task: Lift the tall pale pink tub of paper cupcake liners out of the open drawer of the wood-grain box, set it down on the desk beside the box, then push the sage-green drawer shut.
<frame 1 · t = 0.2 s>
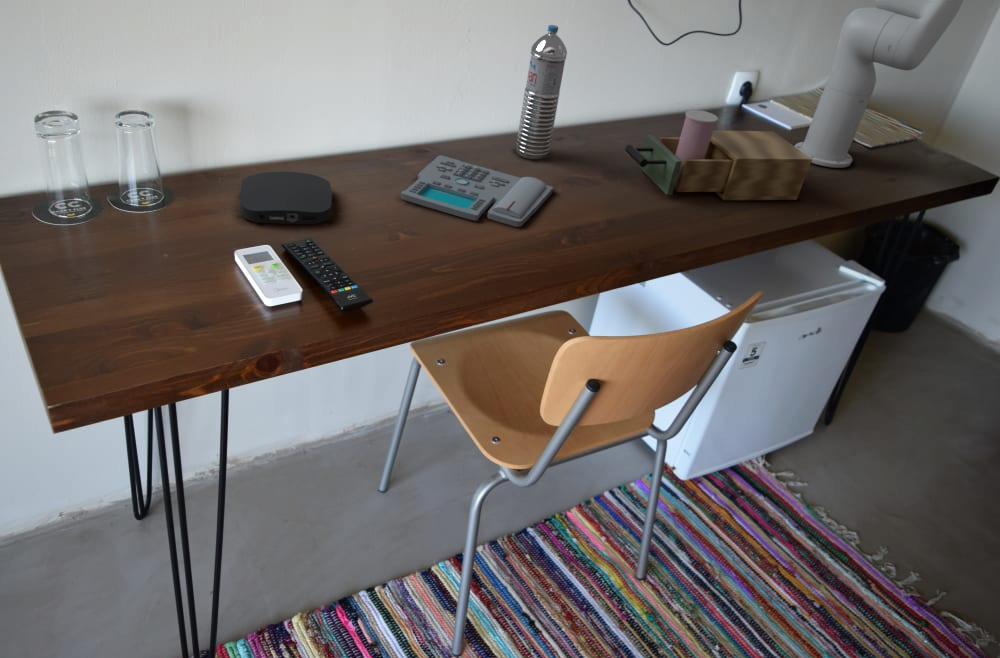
media streaming box: (286, 206, 135), on the table
drawer: (679, 164, 157), point 4 cm above the table, slide at 11.0 cm, touching liners
liners: (684, 175, 159), point 2 cm above the table, touching drawer
water bottle: (531, 155, 165), on the table
wood-grain box: (742, 184, 164), on the table
office telephone: (476, 196, 146), on the table
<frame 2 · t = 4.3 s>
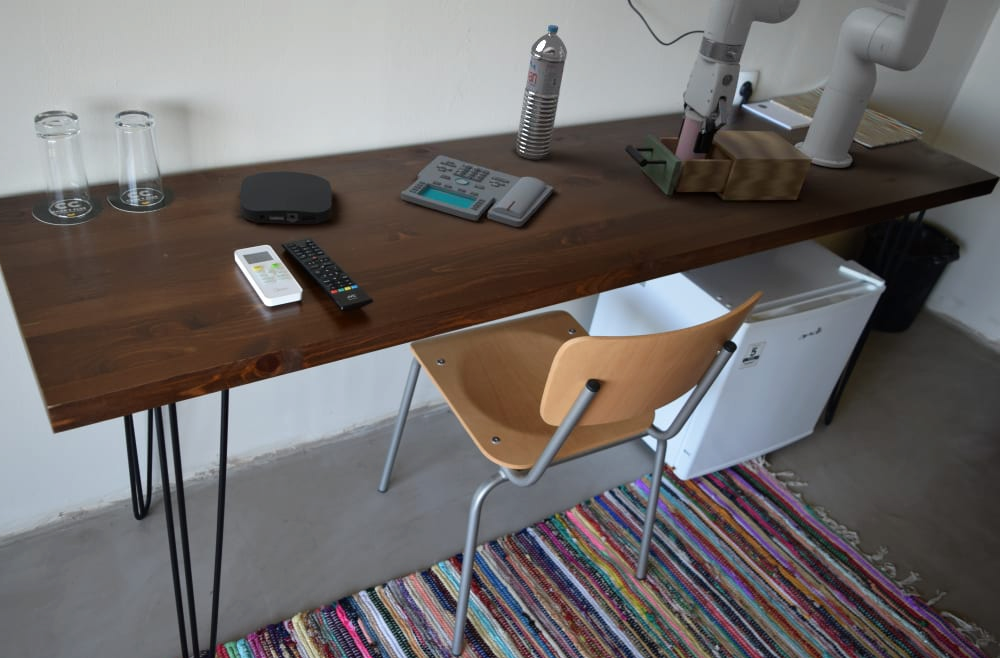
hand: (693, 145, 155), 8 cm above the table, tool pointing down, fingers closed on liners, 5 cm apart
liners: (684, 175, 159), point 2 cm above the table, touching drawer, gripper
everything else where it was.
when the fingers open (6 cm above the table, at t = 12.1 s): liners stays where it is, on the table.
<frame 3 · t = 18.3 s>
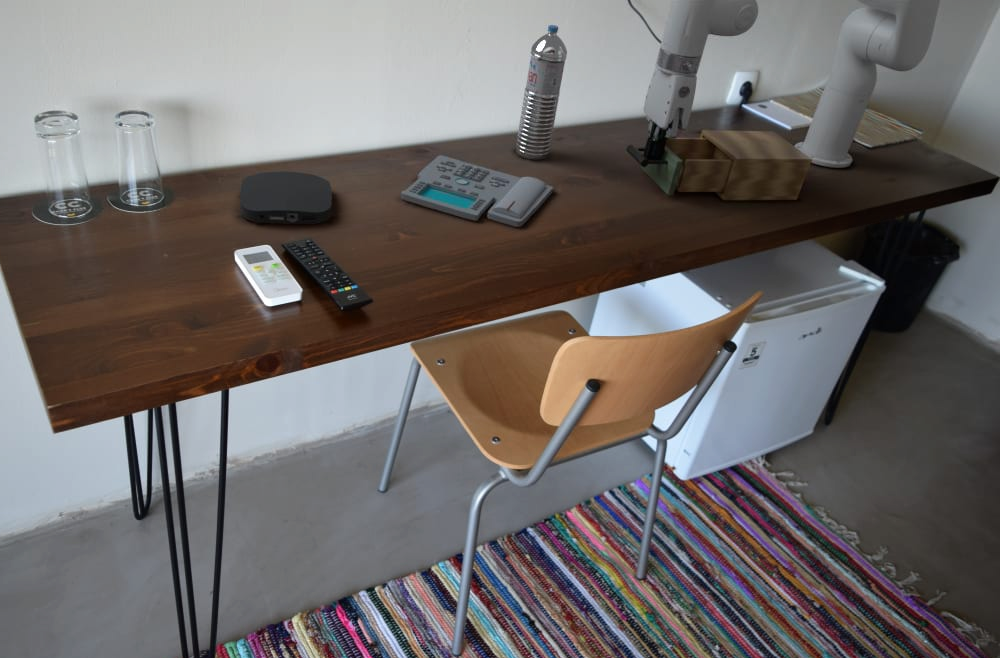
hand: (652, 158, 155), 5 cm above the table, tool pointing down, fingers closed
drawer: (680, 164, 157), point 4 cm above the table, slide at 10.7 cm
liners: (660, 154, 172), on the table
everything else where it was.
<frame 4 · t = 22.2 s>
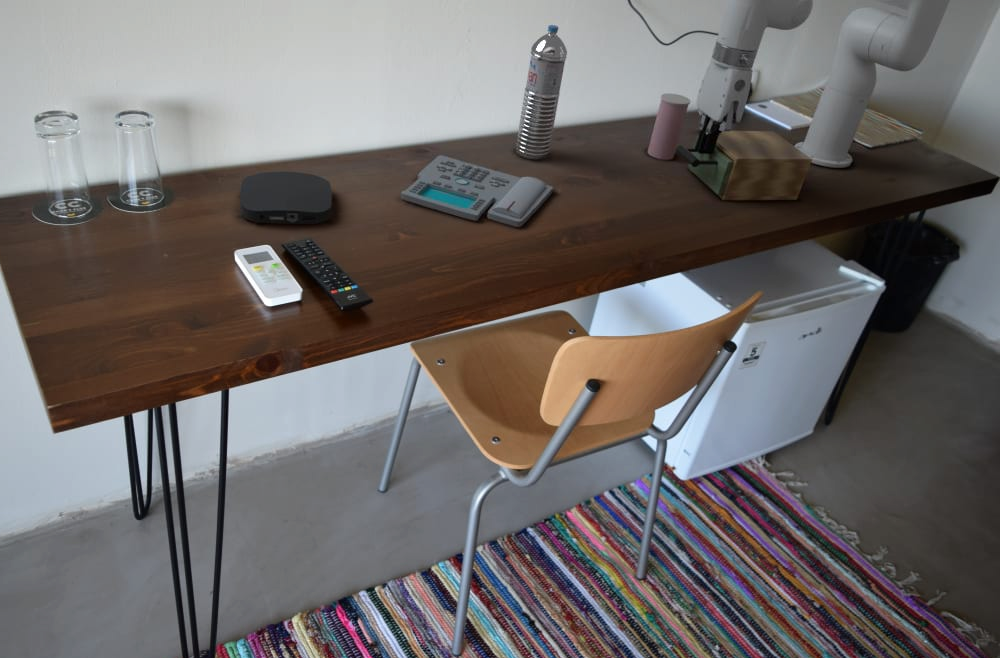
hand: (703, 151, 157), 7 cm above the table, tool pointing down, fingers closed
drawer: (729, 164, 160), point 4 cm above the table, slide at 0.0 cm, touching wood-grain box
everything else where it was.
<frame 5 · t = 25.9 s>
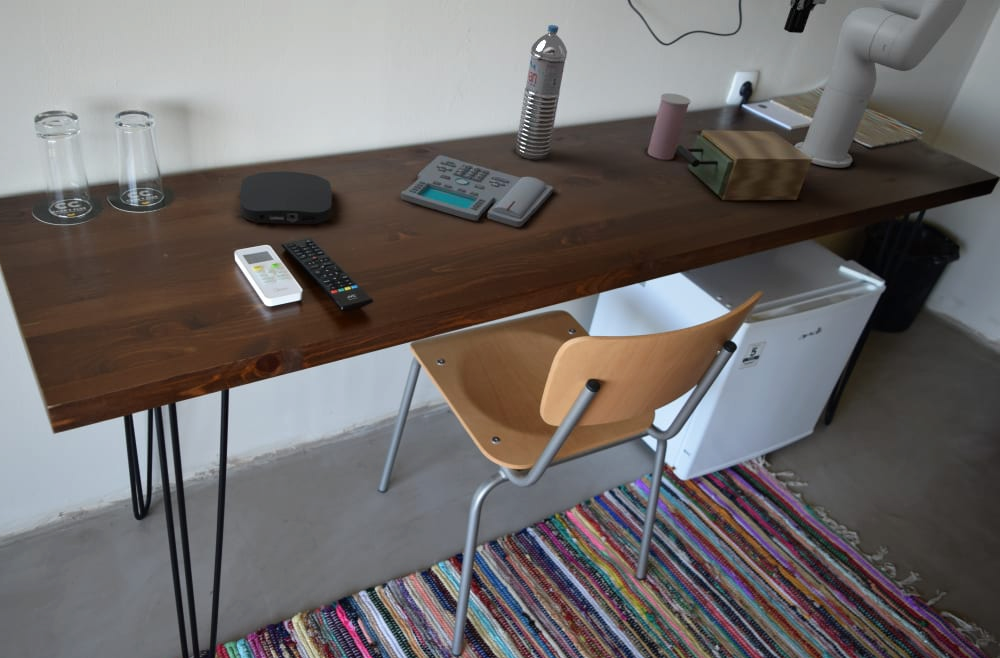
hand: (793, 31, 150), 29 cm above the table, tool pointing down, fingers closed
drawer: (729, 164, 160), point 4 cm above the table, slide at 0.0 cm
everything else where it was.
at the end: liners inside the target area (0.4 cm from its centre), on the table; liners tilted 0°; drawer slide at 0.0 cm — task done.
